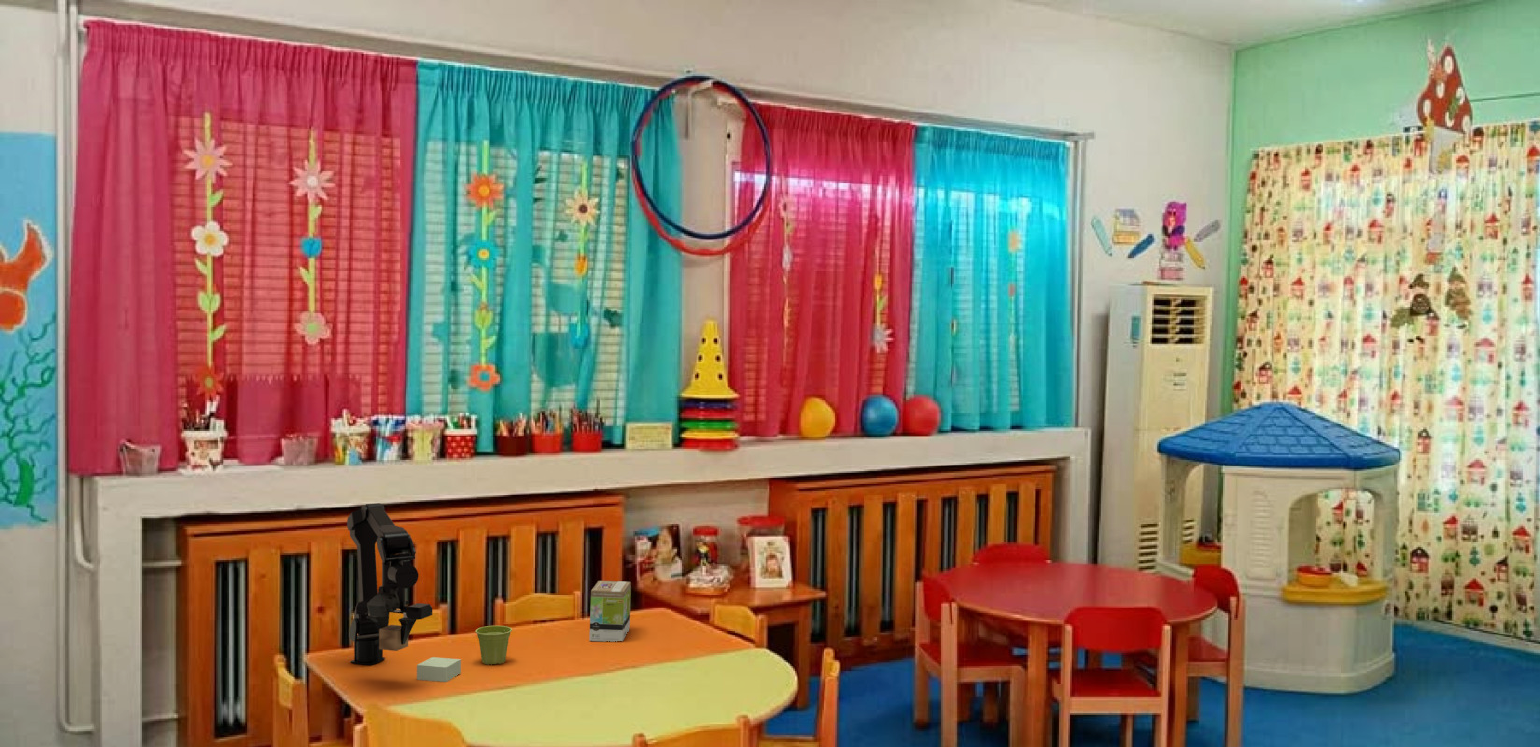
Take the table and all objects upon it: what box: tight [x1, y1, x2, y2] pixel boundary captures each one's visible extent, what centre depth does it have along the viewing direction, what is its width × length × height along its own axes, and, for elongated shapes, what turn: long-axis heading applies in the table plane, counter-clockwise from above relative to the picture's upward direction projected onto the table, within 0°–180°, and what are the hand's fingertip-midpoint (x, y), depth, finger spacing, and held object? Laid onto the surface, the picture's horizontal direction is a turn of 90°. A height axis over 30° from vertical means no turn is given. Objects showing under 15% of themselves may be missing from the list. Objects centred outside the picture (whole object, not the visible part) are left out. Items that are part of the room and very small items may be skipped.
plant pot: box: [475, 625, 513, 666], centre depth 339 cm, size 9×9×9 cm
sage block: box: [416, 656, 462, 683], centre depth 324 cm, size 8×8×4 cm
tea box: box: [588, 580, 632, 643], centre depth 369 cm, size 15×10×15 cm
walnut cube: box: [379, 624, 409, 652], centre depth 318 cm, size 5×5×5 cm
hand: (393, 643), depth 319 cm, fingers closed on walnut cube, 5 cm apart
